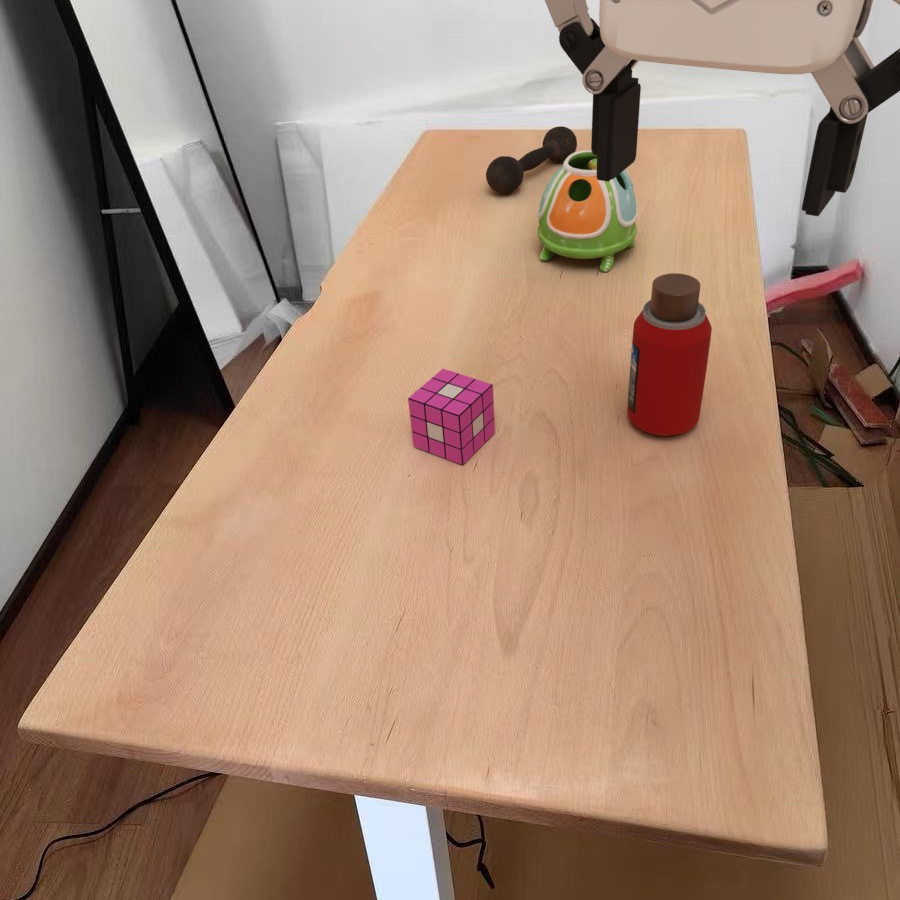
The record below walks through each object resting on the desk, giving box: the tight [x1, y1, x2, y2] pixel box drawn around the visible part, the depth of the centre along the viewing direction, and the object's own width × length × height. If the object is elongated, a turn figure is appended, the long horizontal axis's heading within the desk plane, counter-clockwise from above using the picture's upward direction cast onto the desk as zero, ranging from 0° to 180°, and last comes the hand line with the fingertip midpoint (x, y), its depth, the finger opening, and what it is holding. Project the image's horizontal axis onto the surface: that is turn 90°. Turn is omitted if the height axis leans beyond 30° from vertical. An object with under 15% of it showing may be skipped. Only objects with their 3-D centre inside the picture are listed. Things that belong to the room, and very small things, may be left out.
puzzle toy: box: [407, 368, 496, 466], centre depth 81 cm, size 6×6×6 cm
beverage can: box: [627, 299, 713, 437], centre depth 79 cm, size 7×7×12 cm
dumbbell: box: [485, 125, 578, 195], centre depth 131 cm, size 20×5×5 cm, turn 141°
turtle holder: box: [536, 149, 639, 273], centre depth 110 cm, size 12×18×12 cm
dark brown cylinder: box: [650, 272, 701, 321], centre depth 74 cm, size 4×4×2 cm
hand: (711, 186), depth 40 cm, fingers open, 9 cm apart
